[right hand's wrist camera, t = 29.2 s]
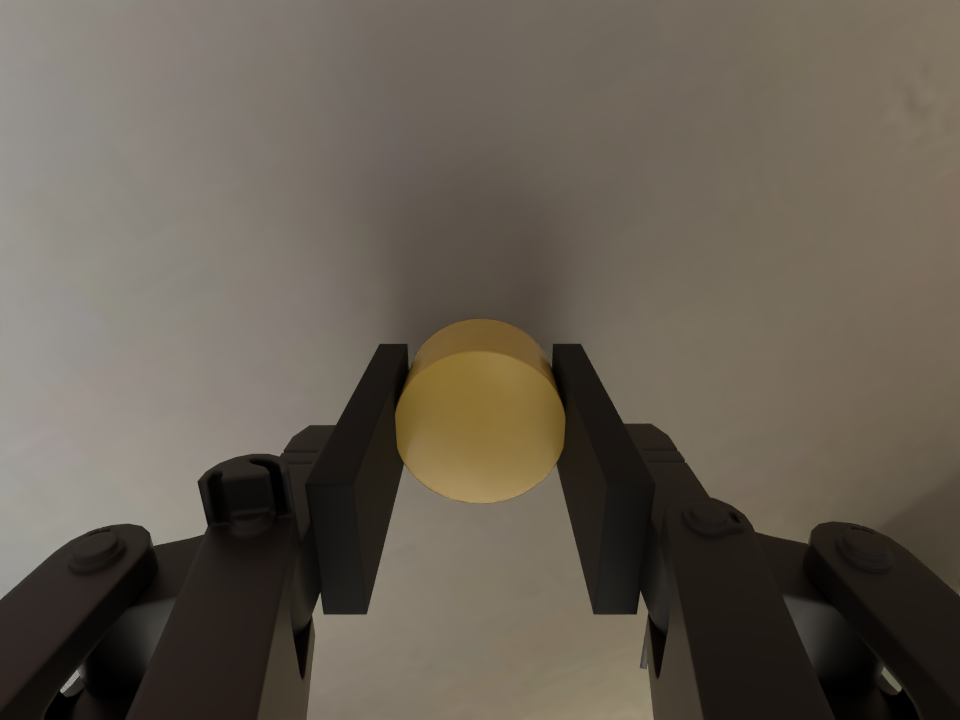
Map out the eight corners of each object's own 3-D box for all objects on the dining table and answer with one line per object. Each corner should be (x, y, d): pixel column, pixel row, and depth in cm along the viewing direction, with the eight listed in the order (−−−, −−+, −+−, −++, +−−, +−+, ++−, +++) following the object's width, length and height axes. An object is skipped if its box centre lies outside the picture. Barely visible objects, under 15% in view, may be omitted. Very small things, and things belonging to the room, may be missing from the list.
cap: (522, 468, 15) (528, 522, 13) (390, 426, 15) (372, 475, 13) (577, 346, 14) (595, 384, 12) (433, 297, 14) (422, 325, 11)
